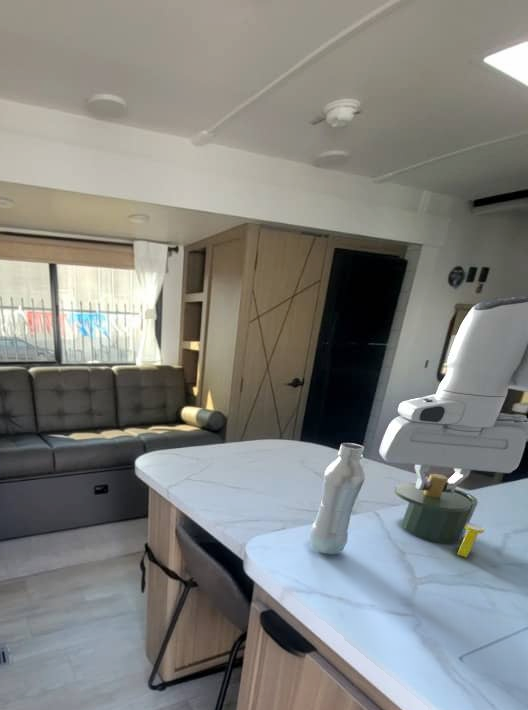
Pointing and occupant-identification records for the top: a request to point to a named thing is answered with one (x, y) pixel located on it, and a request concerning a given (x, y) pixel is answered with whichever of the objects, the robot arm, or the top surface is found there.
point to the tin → (438, 522)
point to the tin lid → (433, 495)
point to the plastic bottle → (338, 500)
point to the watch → (469, 538)
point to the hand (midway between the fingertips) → (433, 490)
